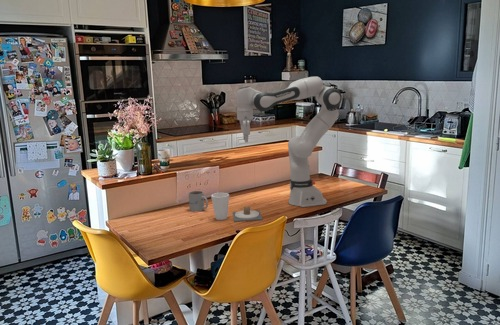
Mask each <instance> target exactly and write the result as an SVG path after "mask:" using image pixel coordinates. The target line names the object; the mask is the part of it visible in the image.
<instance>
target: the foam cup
mask: <svg viewBox="0 0 500 325" xmlns="http://www.w3.org/2000/svg"><path fill="white" fill-rule="evenodd" d="M210 197H211V202H212V208H213V212H214V218H215V220H217V221H223V220H224V221H225V220H226V219H227V220H228V215H229V204H230V202H229V201H230V194H229V193H227V192H216V193H212V194H211V196H210Z"/></svg>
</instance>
